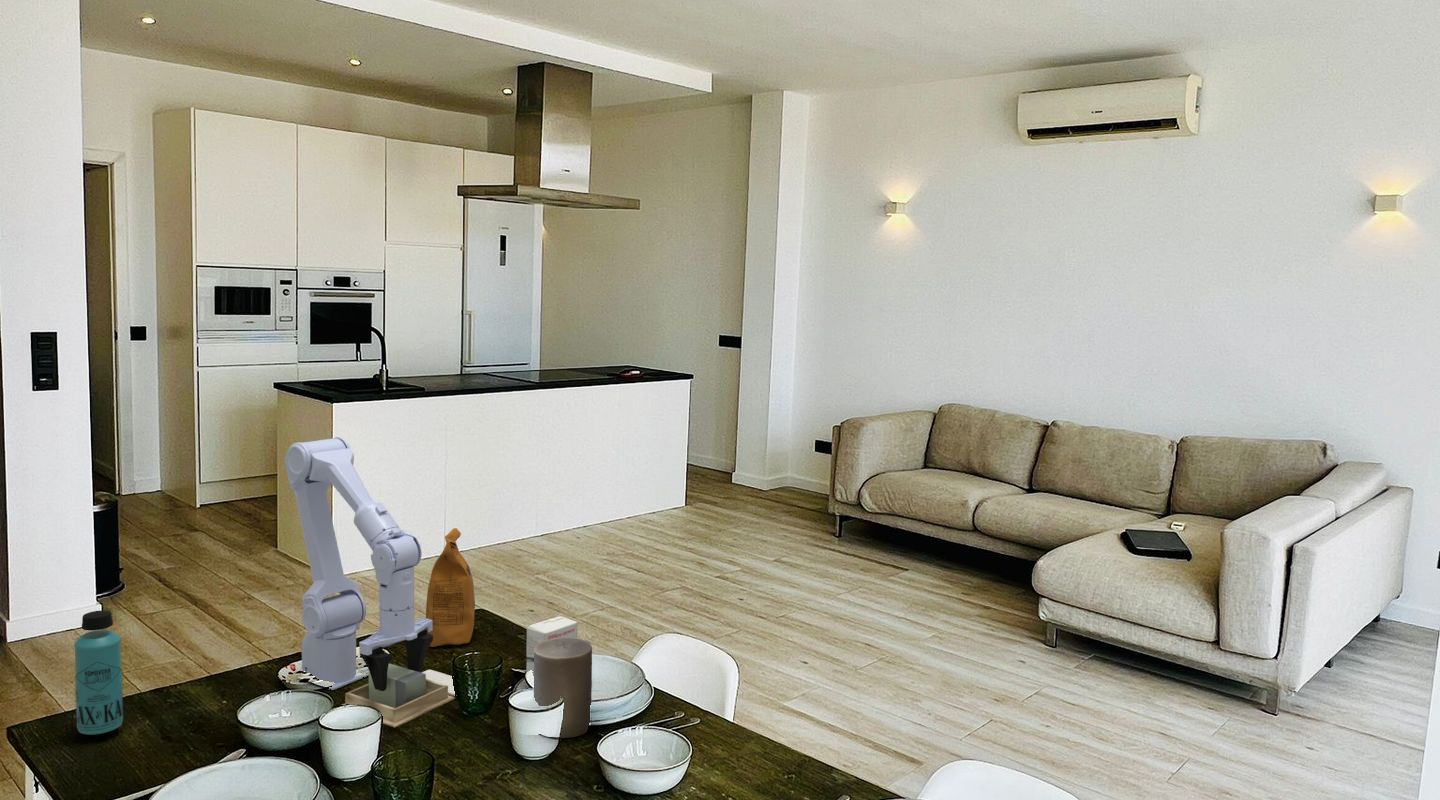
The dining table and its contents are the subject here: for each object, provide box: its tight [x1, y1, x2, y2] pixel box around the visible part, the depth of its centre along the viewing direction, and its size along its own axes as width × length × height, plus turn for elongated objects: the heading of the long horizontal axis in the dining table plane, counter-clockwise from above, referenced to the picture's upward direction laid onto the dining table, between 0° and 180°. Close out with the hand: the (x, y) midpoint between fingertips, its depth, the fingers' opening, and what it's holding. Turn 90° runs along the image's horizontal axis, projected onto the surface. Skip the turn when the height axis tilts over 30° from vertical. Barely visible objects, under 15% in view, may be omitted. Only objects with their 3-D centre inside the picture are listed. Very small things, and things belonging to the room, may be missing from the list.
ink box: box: [525, 615, 579, 676], centre depth 183 cm, size 9×5×12 cm, turn 143°
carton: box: [341, 679, 456, 728], centre depth 173 cm, size 14×14×2 cm
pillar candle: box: [533, 638, 593, 739], centre depth 166 cm, size 10×10×15 cm
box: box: [368, 663, 426, 708], centre depth 173 cm, size 9×5×6 cm, turn 60°
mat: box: [421, 669, 455, 697], centre depth 183 cm, size 12×6×1 cm, turn 60°
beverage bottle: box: [73, 610, 125, 735], centre depth 157 cm, size 6×7×20 cm
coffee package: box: [425, 527, 476, 648], centre depth 204 cm, size 10×12×22 cm
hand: (397, 682), depth 173 cm, fingers open, 7 cm apart
